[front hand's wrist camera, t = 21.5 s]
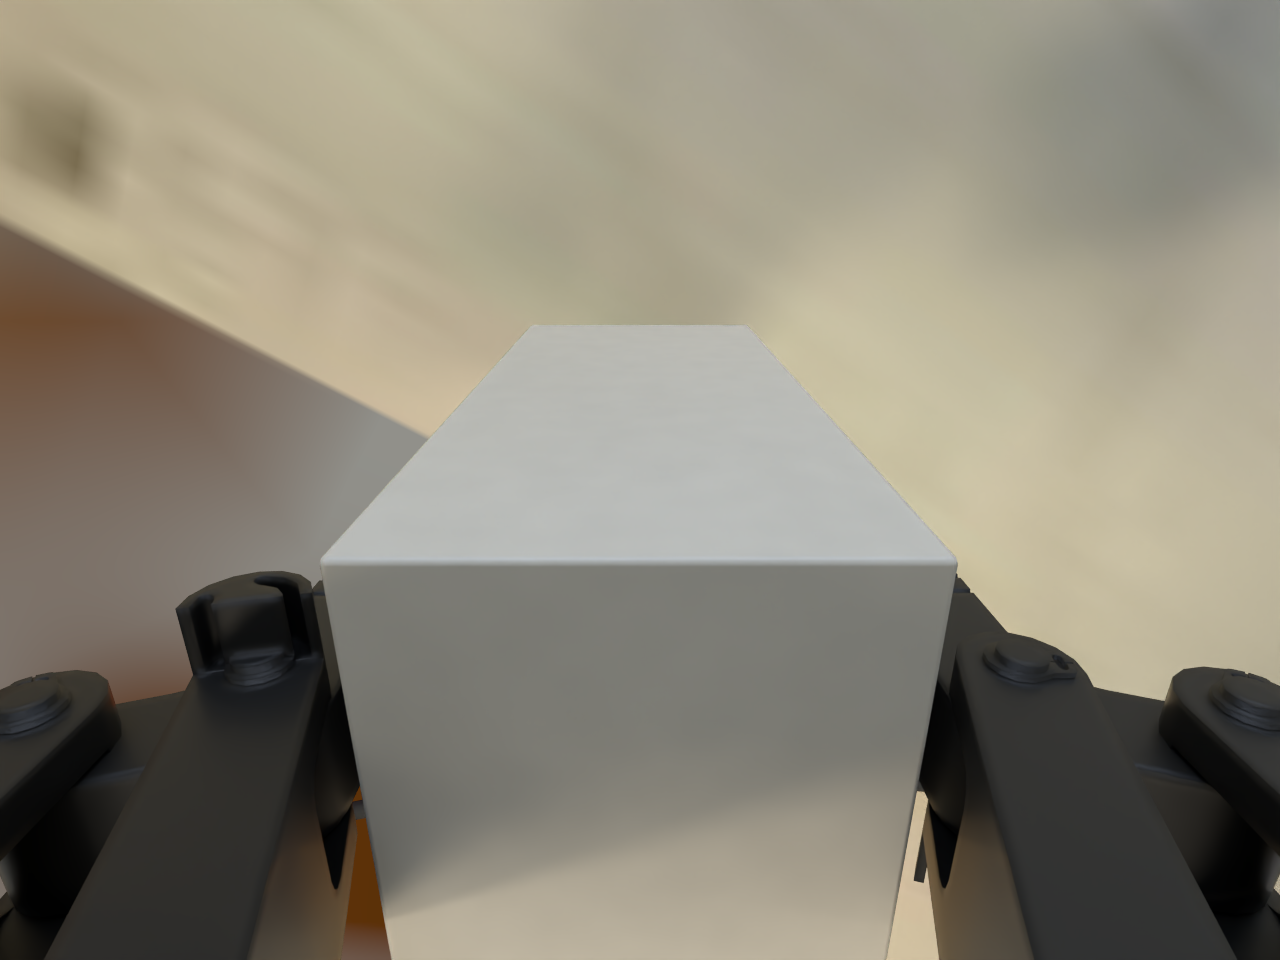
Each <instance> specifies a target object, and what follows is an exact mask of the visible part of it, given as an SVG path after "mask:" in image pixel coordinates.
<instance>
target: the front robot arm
mask: <svg viewBox="0 0 1280 960" xmlns="http://www.w3.org/2000/svg"><path fill="white" fill-rule="evenodd" d="M176 613H177V616H178V620H179V624H180V628H181V631H182V635H183V638H184V642H185V646H186V650H187V653H188V657H189V661H190V665H191V668H192V672H193V677H192V678H191V680H190V682H189V684H188V686H187V688H186V690H185V691H181V692H177V693H173V694H168V695H163V696H158V697H153V698H147V699H142V700H136V701H131V702H126V703H121V704H115V701H114V698H113V695H112V692H111V689H110V686H109V683H108V680H106V679H105V678H104V677H102V676H101V675H99V674H98V673H96V672H88V671H80V670H73V671H64V672H56V673H53V672H51V673H45V674H40V675H36V677H34V678H32V677H29V678H25V679H22V680H19V681H16V682H14V683H13V684H11V685H10V686H8V687H6V688H3V689H1V690H0V877H1V879H2V881H3V883H4V886H5V888H6V890H7V892H6V893H5V894H4V895H3V896H2V898H1V899H0V960H341V955H342V947H343V940H344V932H345V925H346V917H347V909H348V902H349V894H350V886H351V879H352V871H353V863H354V856H355V848H356V840H357V828H356V820H357V819H362V818H366V816H365V810H364V805H363V800H359V801H354V802H352V801H353V798H354V797H355V795H356V792H357V790H358V788H359V786H360V783H359V777H358V772H357V766H356V761H355V755H354V750H353V744H352V739H351V733H350V728H349V722H348V717H347V711H346V706H345V700H344V695H343V689H342V684H341V678H340V673H339V667H338V662H337V656H336V651H335V645H334V640H333V634H332V629H331V623H330V618H329V612H328V607H327V602H326V596H325V591H324V585H323V580H322V581H319V582H318V583H317V584H316V585H315V586H314V588H313V589H312V586H311V582H310V581H309V580H307V579H306V578H304V577H303V576H301V575H299V574H295V573H290V572H284V571H268V572H256V573H250V574H245V575H239V576H234V577H231V578H228V579H225V580H222V581H219V582H216V583H214V584H211V585H208V586H206V587H205V588H203V589H201V590H199V591H197V592H195V593H194V594H192V595H190V596H188V597H187V598H186V599H185V600H184V601H183V602H182V603H181V604H180V605H179V606H178V607H177V608H176ZM917 791H922V792H925V794H926V796H927V798H928V804H927V809H926V815H925V820H924V825H923V830H922V836H921V841H920V846H919V852H918V857H917V862H916V868H915V875H914V881H917V882H922V883H924V878H925V873H926V868H927V869H928V877H929V885H930V892H931V900H932V908H933V915H934V923H935V931H936V938H937V946H938V953H939V960H1280V895H1279V894H1278V893H1277V891H1276V890H1275V889H1274V886H1275V884H1276V882H1277V880H1278V877H1279V875H1280V686H1279V685H1276V684H1274V683H1272V682H1270V681H1269V680H1267V679H1266V678H1263V677H1260V676H1257V675H1254V674H1251V673H1248V674H1245V672H1243V671H1238V670H1233V669H1220V668H1211V667H1197V668H1189V669H1183V670H1182V671H1180V672H1179V673H1178V674H1176V675H1175V676H1173V678H1172V681H1171V684H1170V687H1169V690H1168V693H1167V696H1166V699H1165V701H1161V700H1156V699H1150V698H1145V697H1140V696H1135V695H1129V694H1124V693H1119V692H1113V691H1108V690H1104V689H1100V688H1096V687H1093V685H1092V683H1091V681H1090V679H1089V677H1088V675H1087V674H1086V672H1085V671H1084V670H1083V669H1082V668H1081V667H1080V665H1079V664H1078V663H1077V662H1076V661H1075V660H1074V659H1073V658H1071V657H1069V656H1068V655H1066V654H1065V653H1063V652H1062V651H1060V650H1059V649H1057V648H1056V647H1053V646H1051V645H1048V644H1046V643H1043V642H1041V641H1038V640H1036V639H1033V638H1030V637H1026V636H1021V635H1017V634H1012V633H1008V632H1007V631H1006V630H1005V629H1004V628H1003V627H1002V626H1001V624H1000V623H999V622H998V621H997V620H996V619H995V617H994V616H993V615H992V614H991V613H990V612H989V610H988V609H987V608H986V607H985V606H984V605H983V604H982V602H981V601H980V600H979V599H978V598H977V597H976V595H975V594H974V593H970V588H969V587H968V586H967V585H966V584H965V583H964V581H963V580H962V579H961V578H958V577H957V573H956V577H955V582H954V588H953V593H952V599H951V604H950V610H949V615H948V621H947V627H946V632H945V638H944V643H943V649H942V654H941V660H940V665H939V671H938V676H937V682H936V687H935V693H934V698H933V704H932V710H931V715H930V721H929V726H928V732H927V737H926V743H925V748H924V754H923V759H922V765H921V770H920V776H919V781H918V787H917Z"/></svg>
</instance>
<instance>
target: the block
mask: <svg viewBox="0 0 1280 960" xmlns="http://www.w3.org/2000/svg"><path fill="white" fill-rule="evenodd" d="M320 569H321V574H322V580H323V585H324V591H325V596H326V602H327V607H328V612H329V618H330V623H331V629H332V634H333V640H334V645H335V651H336V656H337V662H338V667H339V673H340V678H341V684H342V689H343V695H344V700H345V706H346V711H347V717H348V722H349V728H350V733H351V739H352V744H353V750H354V755H355V761H356V766H357V772H358V777H359V783H360V788H361V794H362V799H363V805H364V810H365V816H366V821H367V827H368V832H369V838H370V843H371V849H372V854H373V860H374V865H375V870H376V876H377V881H378V887H379V893H380V898H381V904H382V909H383V914H384V920H385V925H386V931H387V936H388V942H389V947H390V953H391V958H392V960H886V959H887V953H888V947H889V942H890V936H891V931H892V925H893V920H894V914H895V909H896V903H897V898H898V892H899V887H900V881H901V876H902V870H903V864H904V859H905V853H906V848H907V842H908V837H909V831H910V826H911V820H912V815H913V809H914V804H915V798H916V793H917V787H918V781H919V776H920V770H921V765H922V759H923V754H924V748H925V743H926V737H927V732H928V726H929V721H930V715H931V710H932V704H933V698H934V693H935V687H936V682H937V676H938V671H939V665H940V660H941V654H942V649H943V643H944V638H945V632H946V627H947V621H948V615H949V610H950V604H951V599H952V593H953V588H954V582H955V577H956V571H957V559H956V557H955V556H954V555H953V554H952V552H951V551H950V550H949V549H948V548H947V547H946V546H945V545H944V544H943V542H942V541H941V540H940V539H939V538H938V537H937V536H936V535H935V534H934V532H933V531H932V530H931V529H930V528H929V527H928V526H927V525H926V524H925V522H924V521H923V520H922V519H921V518H920V517H919V516H918V515H917V514H916V512H915V511H914V510H913V509H912V508H911V507H910V506H909V505H908V504H907V502H906V501H905V500H904V499H903V498H902V497H901V496H900V495H899V493H898V492H897V491H896V490H895V489H894V488H893V487H892V486H891V485H890V483H889V482H888V481H887V480H886V479H885V478H884V477H883V476H882V475H881V473H880V472H879V471H878V470H877V469H876V468H875V467H874V466H873V465H872V463H871V462H870V461H869V460H868V459H867V458H866V457H865V456H864V455H863V453H862V452H861V451H860V450H859V449H858V448H857V447H856V446H855V445H854V443H853V442H852V441H851V440H850V439H849V438H848V437H847V436H846V434H845V433H844V432H843V431H842V430H841V429H840V428H839V427H838V426H837V424H836V423H835V422H834V421H833V420H832V419H831V418H830V417H829V416H828V414H827V413H826V412H825V411H824V410H823V409H822V408H821V407H820V406H819V404H818V403H817V402H816V401H815V400H814V399H813V398H812V397H811V396H810V394H809V393H808V392H807V391H806V390H805V389H804V388H803V387H802V386H801V384H800V383H799V382H798V381H797V380H796V379H795V378H794V377H793V376H792V374H791V373H790V372H789V371H788V370H787V369H786V368H785V367H784V365H783V364H782V363H781V362H780V361H779V360H778V359H777V358H776V357H775V355H774V354H773V353H772V352H771V351H770V350H769V349H768V348H767V347H766V345H765V344H764V343H763V342H762V341H761V340H760V339H759V338H758V337H757V335H756V334H755V333H754V332H753V331H752V330H751V329H750V328H749V327H748V326H747V325H532V326H530V327H529V329H528V330H527V331H526V332H525V333H524V334H523V335H522V336H521V337H520V338H519V340H518V341H517V342H516V343H515V344H514V345H513V346H512V347H511V348H510V350H509V351H508V352H507V353H506V354H505V355H504V356H503V357H502V358H501V359H500V361H499V362H498V363H497V364H496V365H495V366H494V367H493V368H492V369H491V371H490V372H489V373H488V374H487V375H486V376H485V377H484V378H483V379H482V381H481V382H480V383H479V384H478V385H477V386H476V387H475V388H474V389H473V390H472V392H471V393H470V394H469V395H468V396H467V397H466V398H465V399H464V400H463V402H462V403H461V404H460V405H459V406H458V407H457V408H456V409H455V410H454V412H453V413H452V414H451V415H450V416H449V417H448V418H447V419H446V420H445V421H444V423H443V424H442V425H441V426H440V427H439V428H438V429H437V430H436V431H435V433H434V434H433V435H432V436H431V437H430V438H429V439H428V440H427V441H426V443H425V444H424V445H423V446H422V447H421V448H420V449H419V450H418V451H417V453H416V454H415V455H414V456H413V457H412V458H411V459H410V460H409V461H408V462H407V464H406V465H405V466H404V467H403V468H402V469H401V470H400V471H399V472H398V473H397V475H396V476H395V477H394V478H393V479H392V480H391V481H390V482H389V483H388V485H387V486H386V487H385V488H384V489H383V490H382V491H381V492H380V493H379V495H378V496H377V497H376V498H375V499H374V500H373V501H372V502H371V503H370V504H369V506H368V507H367V508H366V509H365V510H364V511H363V512H362V513H361V514H360V516H359V517H358V518H357V519H356V520H355V521H354V522H353V523H352V524H351V526H350V527H349V528H348V529H347V530H346V531H345V532H344V533H343V534H342V535H341V537H340V538H339V539H338V540H337V541H336V542H335V543H334V544H333V545H332V547H331V548H330V549H329V550H328V551H327V552H326V553H325V554H324V555H323V557H322V558H321V561H320Z"/></svg>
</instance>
